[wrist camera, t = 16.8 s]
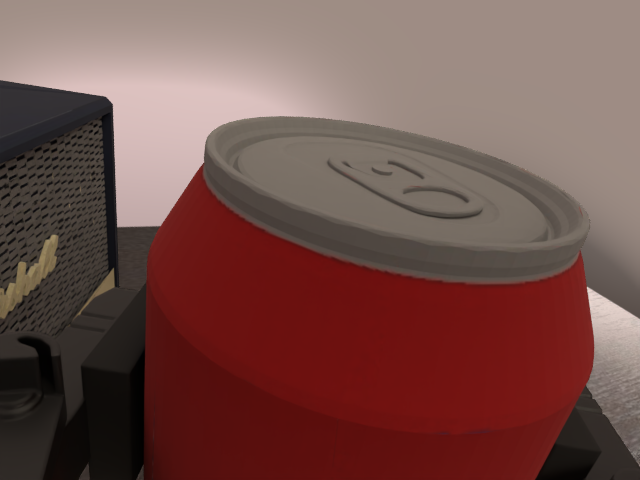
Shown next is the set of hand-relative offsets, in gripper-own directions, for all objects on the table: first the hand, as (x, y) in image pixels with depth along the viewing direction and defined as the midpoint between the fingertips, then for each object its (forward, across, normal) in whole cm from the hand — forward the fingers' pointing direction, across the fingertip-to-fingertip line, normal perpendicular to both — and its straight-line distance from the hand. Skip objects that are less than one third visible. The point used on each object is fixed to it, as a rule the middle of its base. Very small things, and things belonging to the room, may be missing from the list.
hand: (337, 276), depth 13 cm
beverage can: (-5, 0, -7) cm, 9 cm away
